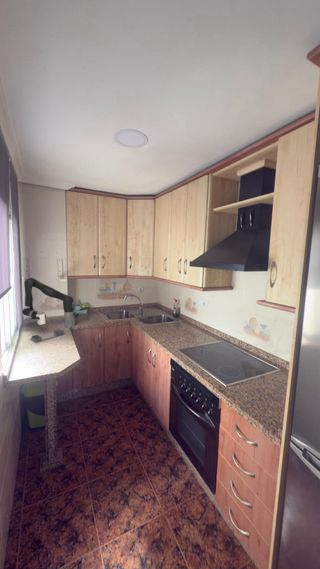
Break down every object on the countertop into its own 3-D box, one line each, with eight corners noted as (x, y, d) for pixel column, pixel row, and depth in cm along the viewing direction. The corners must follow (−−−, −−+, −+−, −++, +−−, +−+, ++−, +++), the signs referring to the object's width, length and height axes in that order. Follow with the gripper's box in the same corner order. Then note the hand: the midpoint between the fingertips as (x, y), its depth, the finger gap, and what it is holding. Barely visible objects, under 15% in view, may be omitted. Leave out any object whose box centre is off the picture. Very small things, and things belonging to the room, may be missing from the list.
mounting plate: (58, 332, 238) (58, 328, 238) (65, 335, 229) (65, 331, 229) (29, 340, 217) (29, 336, 216) (36, 344, 208) (35, 340, 207)
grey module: (43, 322, 233) (42, 310, 231) (45, 323, 230) (44, 311, 228) (37, 323, 229) (36, 312, 227) (40, 325, 226) (39, 313, 224)
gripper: (26, 312, 231) (34, 315, 221) (41, 309, 242) (49, 312, 232) (27, 319, 233) (34, 323, 222) (42, 316, 244) (49, 319, 233)
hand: (42, 317), depth 227 cm, fingers closed on grey module, 5 cm apart
